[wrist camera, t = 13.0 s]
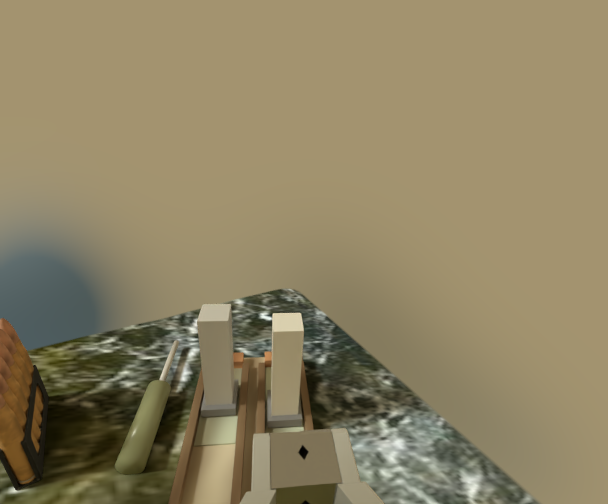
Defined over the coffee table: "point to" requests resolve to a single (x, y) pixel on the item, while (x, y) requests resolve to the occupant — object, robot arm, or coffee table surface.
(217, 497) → the wooden double track board
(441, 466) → the coffee table surface
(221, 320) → the pillar on grey base
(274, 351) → the beige rectangular pillar
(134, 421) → the screwdriver
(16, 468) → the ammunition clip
